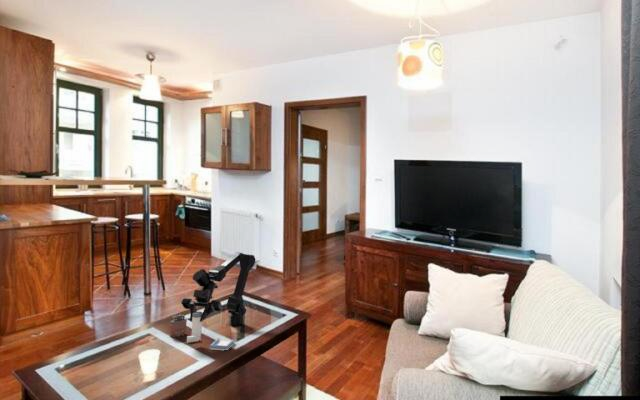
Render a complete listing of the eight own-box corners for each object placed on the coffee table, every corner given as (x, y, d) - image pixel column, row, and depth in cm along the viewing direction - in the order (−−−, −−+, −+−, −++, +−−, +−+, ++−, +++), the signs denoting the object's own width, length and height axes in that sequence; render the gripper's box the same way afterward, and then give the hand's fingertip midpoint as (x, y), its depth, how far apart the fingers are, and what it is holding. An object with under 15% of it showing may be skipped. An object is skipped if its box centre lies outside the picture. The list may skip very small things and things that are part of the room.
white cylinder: (200, 332, 168) (201, 311, 168) (202, 335, 164) (203, 313, 164) (190, 333, 165) (191, 312, 166) (192, 336, 162) (193, 314, 162)
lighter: (184, 332, 181) (185, 312, 181) (187, 334, 178) (188, 314, 178) (168, 336, 175) (169, 315, 175) (171, 338, 173) (172, 317, 173)
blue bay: (217, 341, 170) (217, 338, 170) (234, 343, 169) (234, 339, 169) (209, 349, 161) (209, 345, 161) (227, 350, 160) (227, 346, 160)
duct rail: (199, 339, 172) (199, 334, 172) (200, 340, 170) (200, 335, 170) (186, 341, 168) (186, 336, 168) (187, 342, 167) (187, 337, 167)
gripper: (183, 281, 170) (170, 311, 159) (220, 283, 168) (210, 313, 157) (190, 293, 178) (178, 322, 167) (226, 296, 176) (216, 325, 165)
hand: (195, 321), depth 164 cm, fingers closed on white cylinder, 4 cm apart
